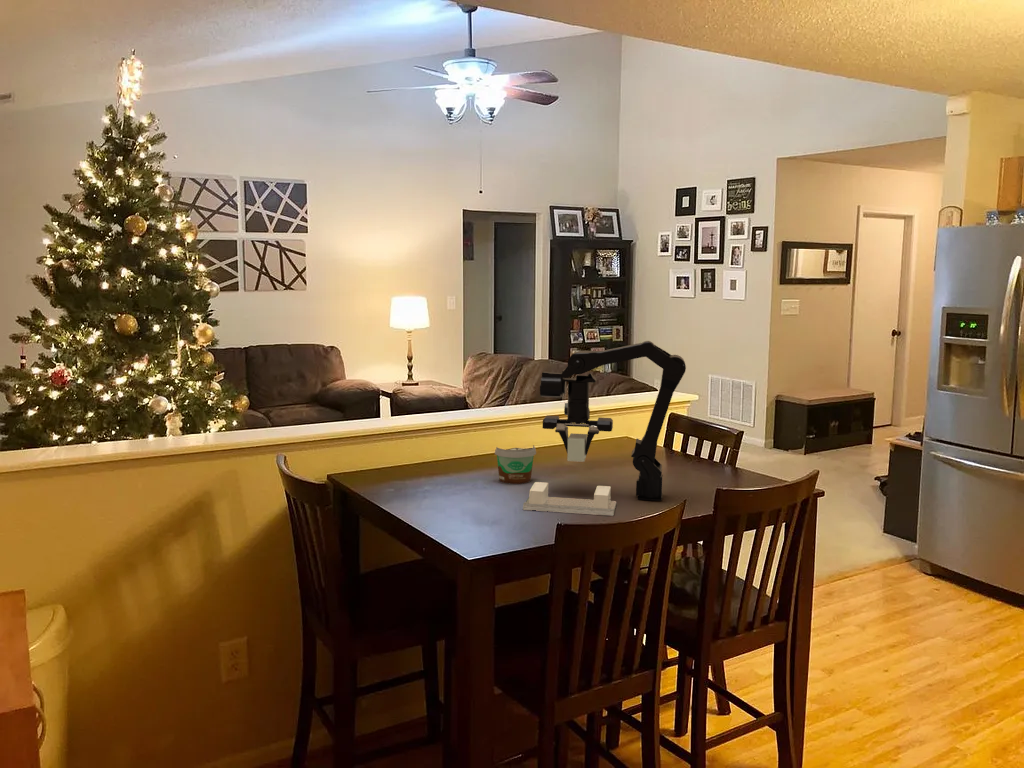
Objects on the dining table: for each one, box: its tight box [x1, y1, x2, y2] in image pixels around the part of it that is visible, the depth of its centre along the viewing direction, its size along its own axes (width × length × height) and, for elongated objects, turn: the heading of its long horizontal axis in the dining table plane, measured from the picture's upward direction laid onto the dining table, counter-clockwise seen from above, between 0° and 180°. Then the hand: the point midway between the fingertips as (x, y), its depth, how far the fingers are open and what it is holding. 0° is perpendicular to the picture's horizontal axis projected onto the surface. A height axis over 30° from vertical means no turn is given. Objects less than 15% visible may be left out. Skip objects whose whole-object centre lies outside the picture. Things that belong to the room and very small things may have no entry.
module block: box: [566, 433, 588, 463], centre depth 227 cm, size 4×8×6 cm, turn 170°
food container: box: [494, 445, 537, 485], centre depth 240 cm, size 12×6×10 cm, turn 105°
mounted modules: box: [528, 481, 612, 509], centre depth 215 cm, size 20×9×4 cm, turn 79°
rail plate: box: [522, 496, 617, 517], centre depth 215 cm, size 23×10×2 cm, turn 79°
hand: (577, 454), depth 227 cm, fingers closed on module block, 4 cm apart
